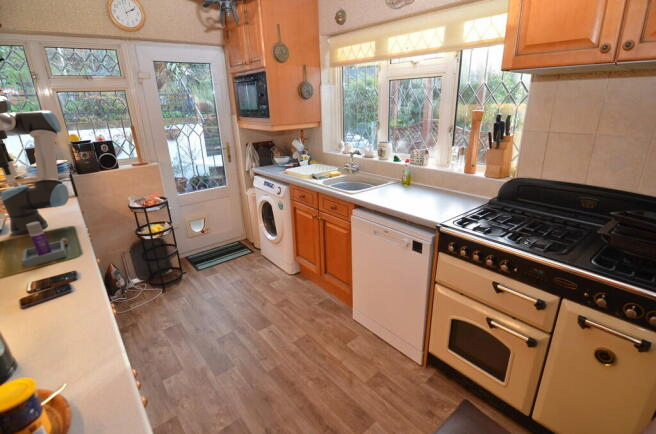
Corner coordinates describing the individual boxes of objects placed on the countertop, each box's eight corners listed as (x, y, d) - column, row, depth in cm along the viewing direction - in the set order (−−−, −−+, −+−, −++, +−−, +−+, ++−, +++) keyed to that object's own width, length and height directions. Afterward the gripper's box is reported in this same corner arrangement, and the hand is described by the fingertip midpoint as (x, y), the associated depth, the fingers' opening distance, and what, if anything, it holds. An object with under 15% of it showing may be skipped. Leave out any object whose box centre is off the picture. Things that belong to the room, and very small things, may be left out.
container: (44, 257, 144) (31, 225, 138) (36, 257, 145) (22, 225, 139) (55, 252, 148) (42, 221, 142) (46, 252, 149) (33, 221, 143)
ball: (60, 244, 157) (58, 238, 156) (69, 242, 159) (66, 236, 158) (60, 246, 155) (58, 240, 154) (69, 244, 157) (67, 238, 156)
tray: (26, 255, 148) (23, 249, 147) (65, 246, 156) (62, 240, 154) (24, 267, 137) (21, 261, 136) (66, 256, 145) (63, 250, 144)
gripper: (-17, 128, 146) (3, 175, 154) (-25, 134, 128) (-1, 186, 136) (6, 126, 151) (24, 172, 159) (1, 131, 133) (22, 182, 141)
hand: (12, 179), depth 148 cm, fingers open, 13 cm apart
